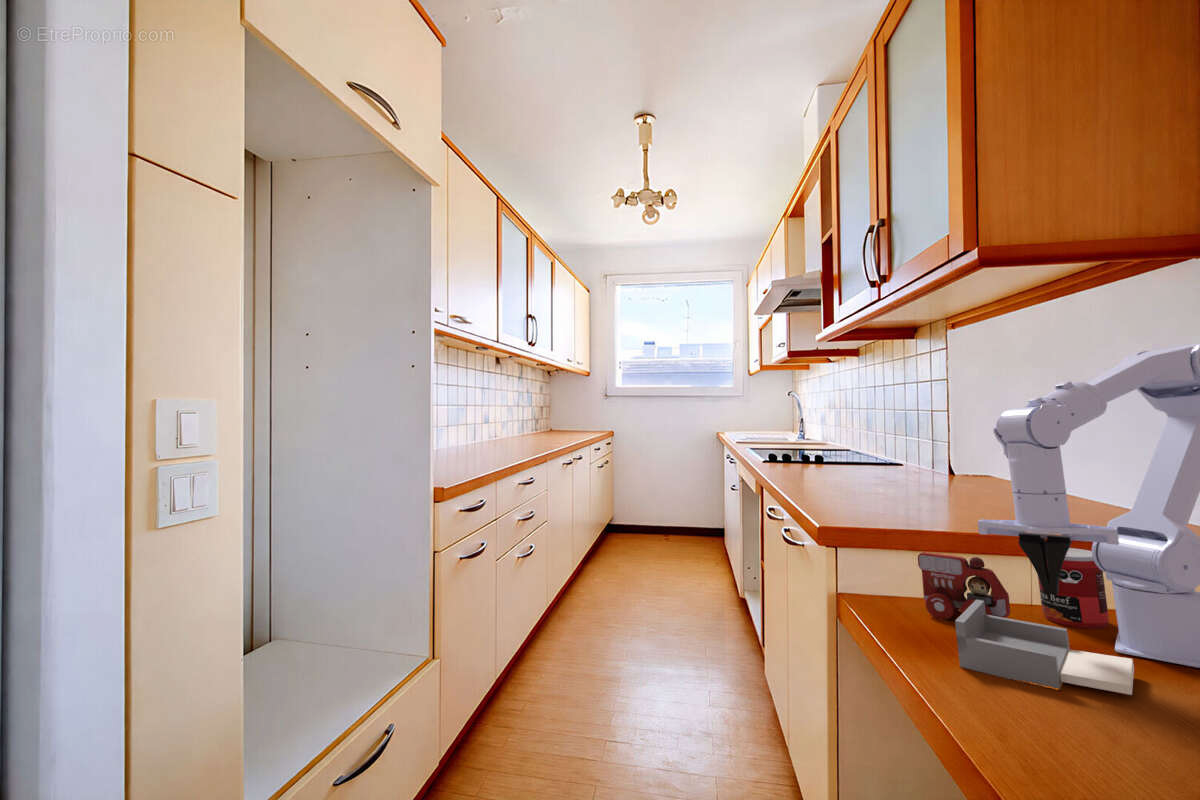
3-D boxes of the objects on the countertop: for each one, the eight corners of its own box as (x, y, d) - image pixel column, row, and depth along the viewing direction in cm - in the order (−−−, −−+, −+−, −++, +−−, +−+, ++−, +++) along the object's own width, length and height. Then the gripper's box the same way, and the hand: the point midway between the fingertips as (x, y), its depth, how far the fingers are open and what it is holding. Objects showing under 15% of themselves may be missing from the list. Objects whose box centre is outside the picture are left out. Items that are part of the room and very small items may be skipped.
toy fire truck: (1006, 633, 78) (998, 564, 79) (916, 615, 87) (910, 554, 88) (1016, 621, 82) (1008, 556, 83) (929, 605, 92) (923, 547, 93)
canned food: (1030, 613, 85) (1022, 547, 86) (1079, 612, 85) (1070, 545, 86) (1071, 630, 78) (1061, 558, 79) (1124, 628, 77) (1114, 555, 78)
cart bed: (1070, 659, 68) (1065, 613, 69) (1059, 691, 60) (1053, 639, 61) (980, 640, 76) (976, 599, 76) (960, 666, 68) (955, 620, 68)
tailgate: (1070, 660, 67) (1134, 670, 63) (1061, 685, 61) (1132, 698, 57) (1068, 649, 67) (1132, 658, 63) (1059, 673, 61) (1129, 685, 57)
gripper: (969, 493, 73) (980, 589, 71) (1111, 497, 62) (1127, 610, 61) (979, 488, 78) (989, 578, 76) (1112, 491, 67) (1127, 595, 66)
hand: (1051, 591), depth 69 cm, fingers closed
